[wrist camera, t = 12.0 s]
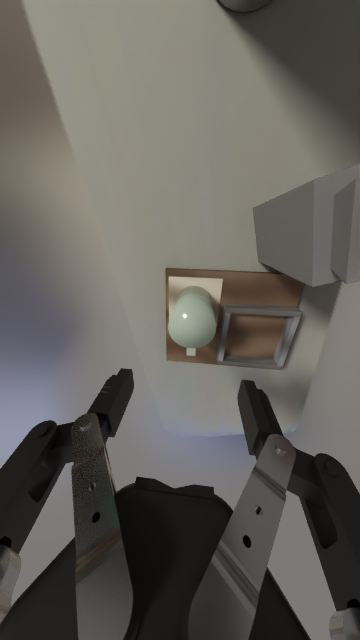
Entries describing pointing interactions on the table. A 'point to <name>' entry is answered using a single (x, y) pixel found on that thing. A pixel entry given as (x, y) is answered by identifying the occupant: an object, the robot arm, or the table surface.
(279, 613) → the robot arm
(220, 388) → the table surface
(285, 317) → the wooden panel with label
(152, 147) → the table surface
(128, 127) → the table surface
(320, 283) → the perfume bottle
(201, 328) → the pale green rounded piece
